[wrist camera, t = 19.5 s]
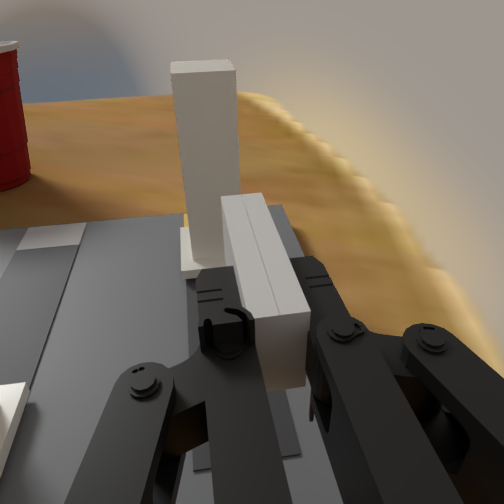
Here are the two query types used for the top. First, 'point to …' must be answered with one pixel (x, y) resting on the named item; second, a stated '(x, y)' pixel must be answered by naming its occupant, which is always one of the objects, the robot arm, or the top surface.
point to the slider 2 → (206, 156)
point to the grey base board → (116, 350)
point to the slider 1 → (10, 416)
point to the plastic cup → (12, 121)
